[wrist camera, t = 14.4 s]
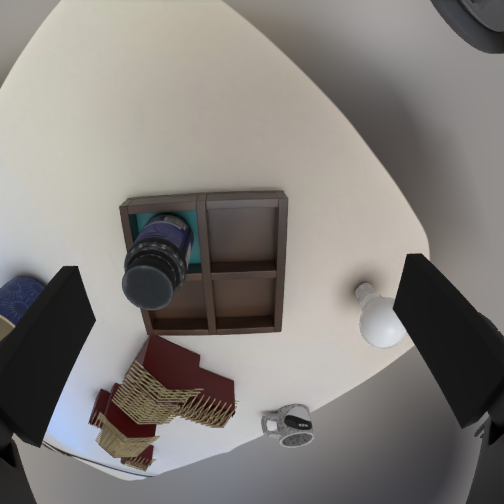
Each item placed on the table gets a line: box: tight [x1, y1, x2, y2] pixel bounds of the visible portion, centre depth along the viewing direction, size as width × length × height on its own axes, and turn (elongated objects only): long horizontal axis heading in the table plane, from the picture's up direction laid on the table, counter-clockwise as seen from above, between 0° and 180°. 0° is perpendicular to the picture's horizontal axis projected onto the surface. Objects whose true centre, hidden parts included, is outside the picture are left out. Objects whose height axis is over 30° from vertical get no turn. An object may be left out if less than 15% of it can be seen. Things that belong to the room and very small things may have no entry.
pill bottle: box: [122, 213, 194, 310], centre depth 29 cm, size 6×6×11 cm
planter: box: [0, 277, 45, 341], centre depth 33 cm, size 12×12×11 cm
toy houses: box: [88, 335, 239, 471], centre depth 47 cm, size 45×20×10 cm, turn 145°
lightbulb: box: [355, 283, 407, 349], centre depth 35 cm, size 6×6×11 cm
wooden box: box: [119, 191, 288, 335], centre depth 36 cm, size 18×18×3 cm
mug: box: [261, 404, 314, 448], centre depth 50 cm, size 10×7×7 cm, turn 75°
